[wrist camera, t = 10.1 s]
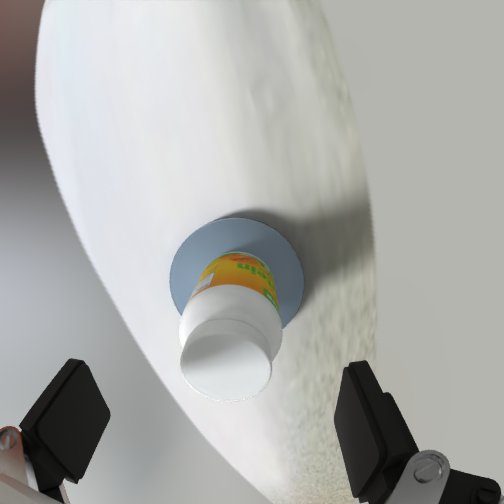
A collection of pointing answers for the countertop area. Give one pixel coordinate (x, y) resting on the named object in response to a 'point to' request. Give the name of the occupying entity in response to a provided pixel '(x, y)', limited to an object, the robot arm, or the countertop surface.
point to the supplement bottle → (231, 329)
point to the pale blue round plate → (238, 240)
